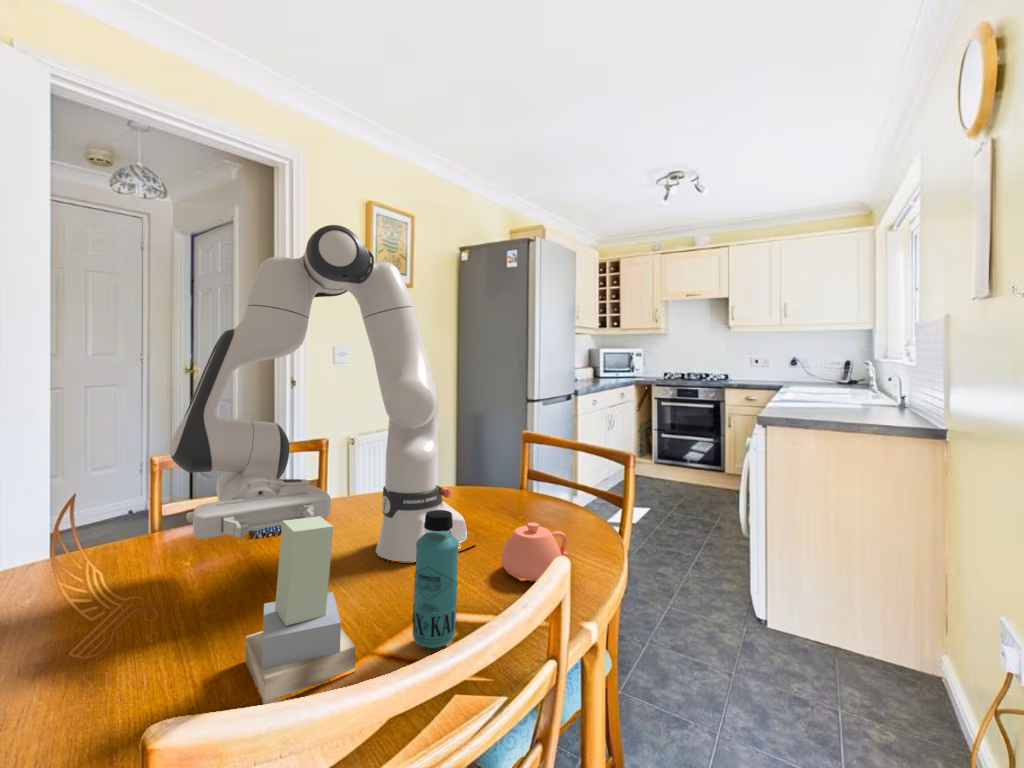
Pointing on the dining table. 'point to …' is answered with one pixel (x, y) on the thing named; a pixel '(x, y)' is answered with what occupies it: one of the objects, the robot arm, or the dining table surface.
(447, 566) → the beverage bottle
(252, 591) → the dining table surface
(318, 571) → the sage block
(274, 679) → the tower base
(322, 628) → the tower top
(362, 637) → the dining table surface
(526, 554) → the sugar bowl
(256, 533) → the blue studded pad
